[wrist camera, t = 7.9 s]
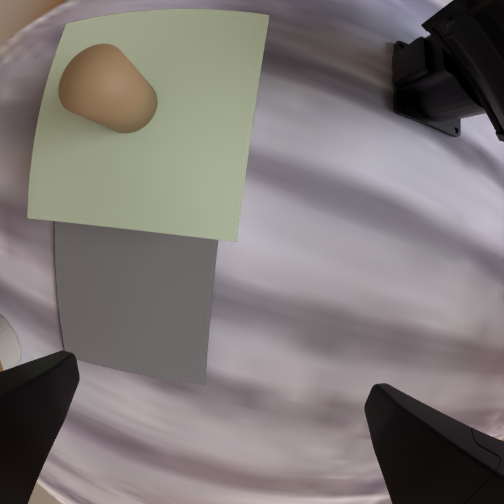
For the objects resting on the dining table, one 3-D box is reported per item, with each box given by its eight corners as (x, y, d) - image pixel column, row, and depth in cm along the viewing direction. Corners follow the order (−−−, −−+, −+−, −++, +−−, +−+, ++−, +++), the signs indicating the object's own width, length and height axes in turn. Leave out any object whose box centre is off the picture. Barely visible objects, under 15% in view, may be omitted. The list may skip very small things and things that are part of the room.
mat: (219, 225, 18) (219, 226, 18) (205, 381, 21) (204, 384, 20) (58, 209, 17) (55, 209, 17) (68, 353, 20) (65, 356, 20)
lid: (267, 24, 12) (281, -37, 7) (236, 238, 15) (236, 267, 9) (73, 29, 11) (30, -9, 6) (36, 216, 14) (-27, 230, 8)
